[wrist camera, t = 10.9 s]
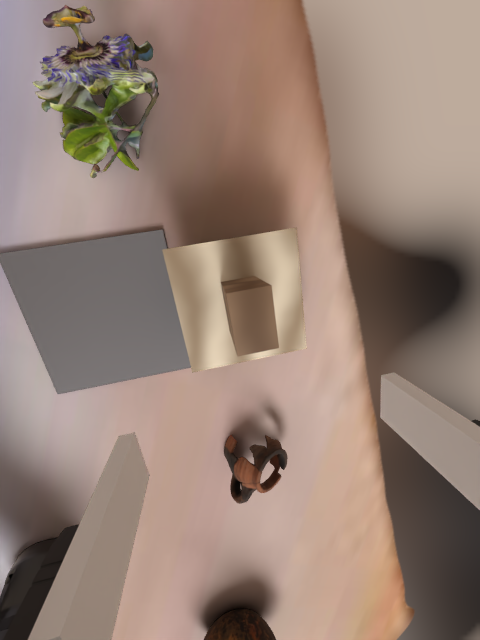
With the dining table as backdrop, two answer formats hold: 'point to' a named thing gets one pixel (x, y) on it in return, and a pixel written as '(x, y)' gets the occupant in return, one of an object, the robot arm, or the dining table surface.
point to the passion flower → (95, 89)
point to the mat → (99, 309)
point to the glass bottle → (240, 627)
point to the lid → (238, 298)
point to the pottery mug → (254, 468)
